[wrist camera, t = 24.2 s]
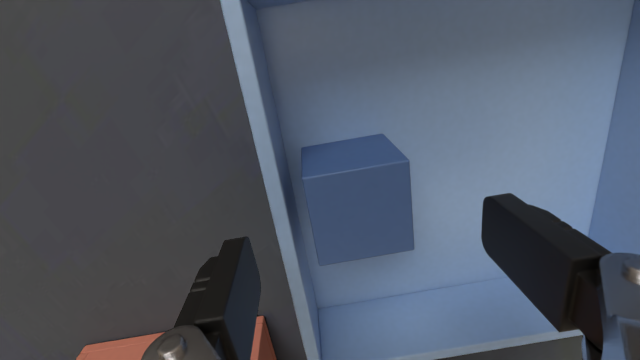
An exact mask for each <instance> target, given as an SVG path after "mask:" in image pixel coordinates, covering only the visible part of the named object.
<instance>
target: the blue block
mask: <svg viewBox="0 0 640 360" xmlns="http://www.w3.org/2000/svg"><path fill="white" fill-rule="evenodd" d="M301 165H302V183H303V188H304V193H305V198H306V203H307V208H308V213H309V218H310V223H311V228H312V233H313V238H314V243H315V248H316V253H317V258H318V264H319V265H320V266H324V265H330V264H336V263H341V262H347V261H353V260H359V259H365V258H370V257H376V256H382V255H388V254H394V253H399V252H405V251H411V250H414V231H413V213H412V195H411V177H410V161H409V159H408V158H407V157H406V156H405V155H404V154H403V153H402V152H401V151H400V150H399V149H398V148H397V147H396V146H395V145H394V144H393V143H392V142H391V141H390V140H389V139H388V138H387V137H386V136H385V135H384V134H376V135H370V136H365V137H359V138H353V139H347V140H342V141H336V142H330V143H324V144H319V145H313V146H307V147H302V148H301Z"/></svg>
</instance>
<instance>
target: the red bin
mask: <svg viewBox="0 0 640 360" xmlns="http://www.w3.org/2000/svg"><path fill="white" fill-rule="evenodd" d="M163 333H165V332H163ZM163 333H157V334H151V335H145V336H139V337H133V338H127V339H121V340H115V341H109V342H103V343H97V344H91V345H86V346H85V347H84V348H83V350H82V351H81V353H80V354H79V356H78V357H77V358H76V360H141V358H142V356H143V354H144V352H145V350H146V349H147V348H148V346H149V345H150V344H151V343H152V342H153V341H154V340H155V339H156V338H158V337H159V336H160V335H162V334H163ZM250 360H277V359H276V356H275V352H274V349H273V346H272V342H271V339H270V335H269V332H268V329H267V325H266V322H265V318H264V316H258V317H257V319H256V326H255V332H254V339H253V345H252V352H251V359H250Z"/></svg>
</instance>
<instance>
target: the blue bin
mask: <svg viewBox="0 0 640 360" xmlns="http://www.w3.org/2000/svg"><path fill="white" fill-rule="evenodd" d="M220 3H221V7H222V11H223V15H224V20H225V24H226V28H227V32H228V36H229V40H230V44H231V48H232V53H233V57H234V61H235V65H236V69H237V73H238V77H239V81H240V85H241V90H242V94H243V98H244V102H245V106H246V110H247V114H248V118H249V123H250V127H251V131H252V135H253V139H254V143H255V147H256V151H257V155H258V160H259V164H260V168H261V172H262V176H263V180H264V184H265V188H266V193H267V197H268V201H269V205H270V209H271V213H272V217H273V221H274V225H275V230H276V234H277V238H278V242H279V246H280V250H281V254H282V258H283V263H284V267H285V271H286V275H287V279H288V283H289V287H290V291H291V296H292V300H293V304H294V308H295V312H296V316H297V320H298V324H299V328H300V333H301V337H302V341H303V345H304V349H305V353H306V357H307V360H435V359H441V358H447V357H453V356H459V355H465V354H471V353H477V352H483V351H489V350H495V349H501V348H507V347H513V346H519V345H525V344H531V343H537V342H543V341H549V340H555V339H561V338H566V337H572V336H578V335H584V334H583V333H582V332H581V331H580V330H579V329H578V330H572V331H566V332H560V333H559V332H558V331H557V330H556V328H555V327H554V326H553V325H552V324H551V323H550V322H549V321H548V320H547V319H546V318H545V317H544V315H543V314H542V313H541V312H540V311H539V310H538V309H537V308H536V307H535V306H534V305H533V303H532V302H531V301H530V300H529V299H528V298H527V297H526V296H525V295H524V294H523V293H522V292H521V290H520V289H519V288H518V287H517V286H516V285H515V284H514V283H513V282H512V281H511V280H510V278H509V277H508V276H507V275H506V274H505V273H504V272H503V271H502V270H501V269H500V268H499V267H498V265H497V264H496V263H495V262H494V261H493V260H492V259H491V258H490V257H489V256H488V254H487V253H486V251H485V249H484V247H483V244H482V239H481V231H482V209H483V200H484V198H485V197H487V196H493V195H499V194H505V193H512V194H513V195H515V196H516V197H518V198H519V199H521V200H522V201H524V202H525V203H527V204H528V205H529V204H530V205H533V206H536V207H539V208H541V209H544V210H547V211H549V212H550V213H552V214H553V215H555V216H556V217H558V218H559V219H561V221H564V222H566V223H567V224H569V225H570V226H572V228H573V229H576V230H578V231H579V232H581V233H583V234H584V235H586V236H587V237H589V238H590V239H592V240H593V241H595V242H596V243H598V244H599V245H601V246H603V247H604V248H606V249H607V250H609V251H610V252H612V253H620V252H622V253H633V254H638V255H640V0H220ZM376 134H384V135H385V136H386V137H387V138H388V139H389V140H390V141H391V142H392V143H393V144H394V145H395V146H396V147H397V148H398V149H399V150H400V151H401V152H402V153H403V154H404V155H405V156H406V157H407V158H408V159H409V161H410V177H411V195H412V213H413V231H414V250H411V251H405V252H399V253H394V254H388V255H382V256H376V257H370V258H365V259H359V260H353V261H347V262H341V263H336V264H330V265H324V266H320V265H319V264H318V258H317V253H316V248H315V243H314V238H313V233H312V228H311V223H310V218H309V213H308V208H307V203H306V198H305V193H304V188H303V183H302V165H301V148H302V147H307V146H313V145H319V144H324V143H330V142H336V141H342V140H347V139H353V138H359V137H365V136H370V135H376Z"/></svg>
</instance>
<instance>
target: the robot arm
mask: <svg viewBox="0 0 640 360" xmlns="http://www.w3.org/2000/svg"><path fill="white" fill-rule="evenodd" d="M481 239H482V244H483V247H484V249H485V251H486V253H487V254H488V256H489V257H490V258H491V259H492V260H493V261H494V262H495V263H496V264H497V265H498V267H499V268H500V269H501V270H502V271H503V272H504V273H505V274H506V275H507V276H508V277H509V278H510V280H511V281H512V282H513V283H514V284H515V285H516V286H517V287H518V288H519V289H520V290H521V292H522V293H523V294H524V295H525V296H526V297H527V298H528V299H529V300H530V301H531V302H532V303H533V305H534V306H535V307H536V308H537V309H538V310H539V311H540V312H541V313H542V314H543V315H544V317H545V318H546V319H547V320H548V321H549V322H550V323H551V324H552V325H553V326H554V327H555V328H556V330H557V331H558V332H559V333H560V332H566V331H572V330H578V329H579V330H580V331H581V332H582V333H583V334H584V335H583V340H582V356H583V360H640V255H638V254H633V253H622V252H620V253H612V252H610V251H609V250H607V249H606V248H604V247H603V246H601V245H599V244H598V243H596V242H595V241H593V240H592V239H590V238H589V237H587V236H586V235H584V234H583V233H581V232H579V231H578V230H576V229H573V228H572V226H570V225H569V224H567V223H566V222H564V221H561V219H559V218H558V217H556V216H555V215H553V214H552V213H550V212H549V211H547V210H544V209H541V208H539V207H536V206H533V205H530V204H529V205H528V204H527V203H525V202H524V201H522V200H521V199H519V198H518V197H516V196H515V195H513V194H512V193H505V194H499V195H493V196H487V197H485V198H484V200H483V209H482V231H481ZM260 293H261V282H260V275H259V271H258V268H257V264H256V261H255V257H254V254H253V250H252V247H251V243H250V240H249V238H248V237H241V238H235V239H229V240H225V241H224V242H223V245H222V247H221V250H220V253H219V255H218V256H217V257H211V258H210V259H209V260H208V261H207V262H206V263H205V264H204V265H203V266H202V267H201V268H200V269H199V272H198V274H197V276H196V278H195V283H193V285H192V287H191V290H190V293H189V294H188V296H187V299H186V301H185V303H184V305H183V308H182V310H181V312H180V314H179V317H178V319H177V321H176V323H175V326H174V328H173V329H170V330H168V331H167V332H165V333H163V334H162V335H160V336H159V337H158V338H156V339H155V340H154V341H153V342H152V343H151V344H150V345H149V346H148V348H147V349H146V350H145V352H144V354H143V356H142V358H141V360H250V359H251V352H252V345H253V339H254V332H255V326H256V319H257V313H258V306H259V300H260Z"/></svg>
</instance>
